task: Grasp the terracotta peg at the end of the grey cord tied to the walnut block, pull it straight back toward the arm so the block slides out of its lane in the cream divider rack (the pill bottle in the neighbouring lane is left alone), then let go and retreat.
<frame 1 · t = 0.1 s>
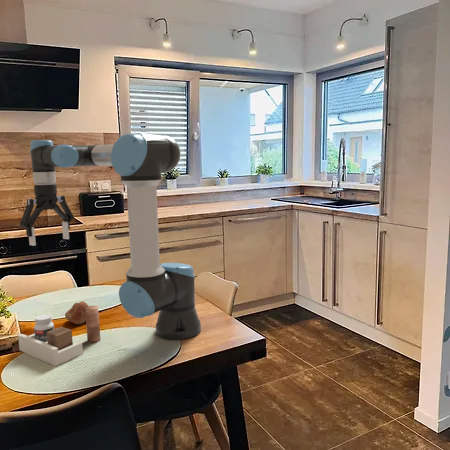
hand: (50, 242, 156), 28 cm above the table, fingers open, 13 cm apart
lane shelf: (52, 351, 130), on the table
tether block: (61, 354, 128), on the table
pill bottle: (45, 347, 133), on the table
fossil: (78, 322, 154), on the table
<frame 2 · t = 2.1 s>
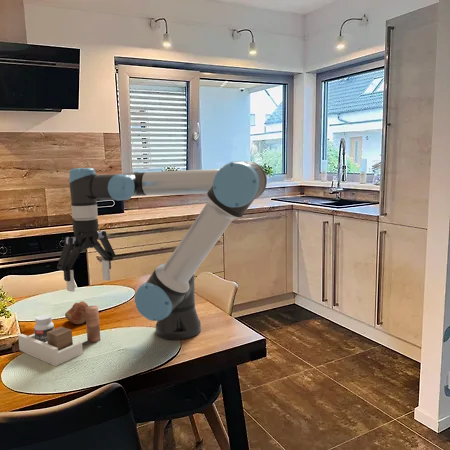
hand: (89, 285, 135), 18 cm above the table, fingers open, 13 cm apart
nothing on the table moved.
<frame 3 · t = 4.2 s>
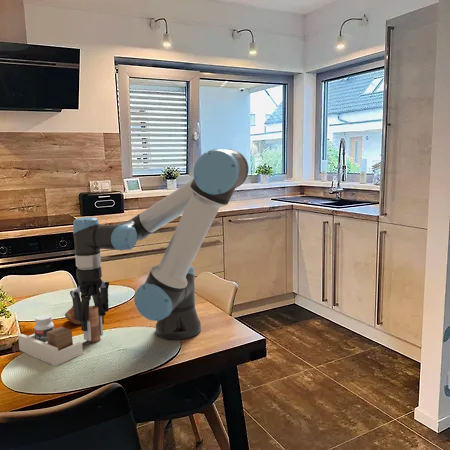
hand: (93, 337, 138), 1 cm above the table, fingers closed on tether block, 4 cm apart
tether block: (61, 354, 128), on the table, touching gripper
everything else where it was.
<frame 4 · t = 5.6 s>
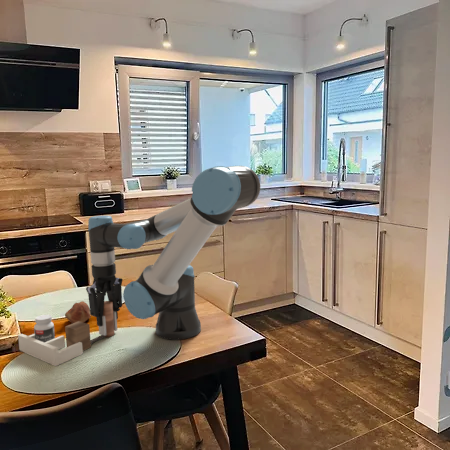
hand: (108, 332, 142), 1 cm above the table, fingers closed on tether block, 4 cm apart
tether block: (78, 348, 132), on the table, touching gripper
everything else where it was.
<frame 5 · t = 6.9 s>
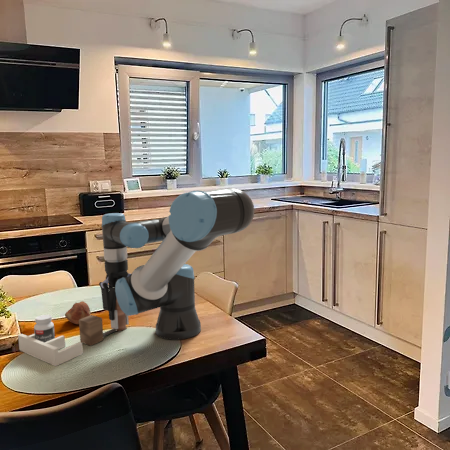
hand: (120, 325, 146), 1 cm above the table, fingers closed on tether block, 4 cm apart
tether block: (91, 341, 137), on the table, touching gripper
everything else where it was.
when the fingers open (1 cm above the table, at t = 7.7 s): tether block stays where it is, on the table.
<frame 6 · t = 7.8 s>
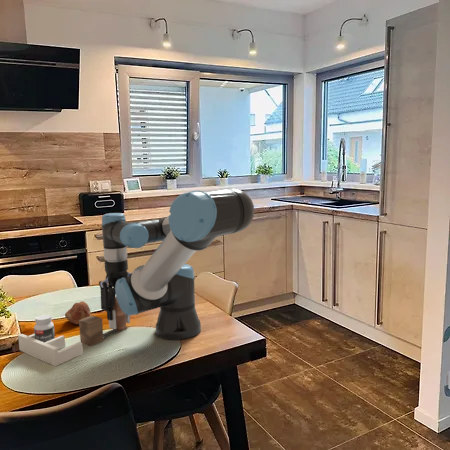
hand: (119, 325, 146), 1 cm above the table, fingers open, 5 cm apart
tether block: (92, 341, 137), on the table
everything else where it was.
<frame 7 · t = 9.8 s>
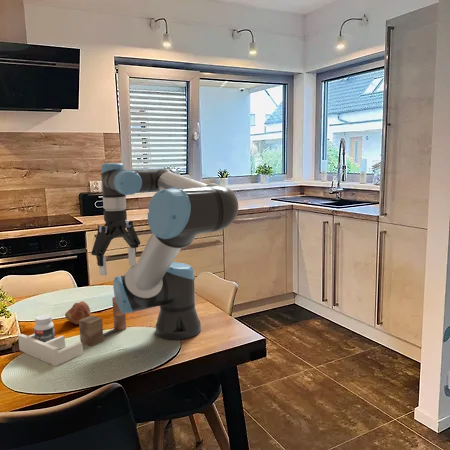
hand: (118, 270, 148), 20 cm above the table, fingers open, 13 cm apart
nothing on the table moved.
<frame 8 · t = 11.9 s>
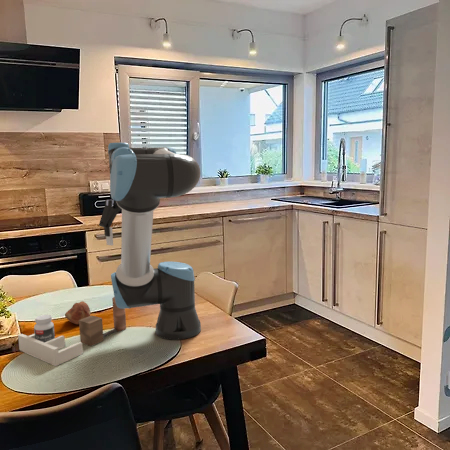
hand: (124, 241, 161), 27 cm above the table, fingers open, 13 cm apart
nothing on the table moved.
at the end: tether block inside the target area (4.8 cm from its centre), on the table; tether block touching table; the gripper is holding nothing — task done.
